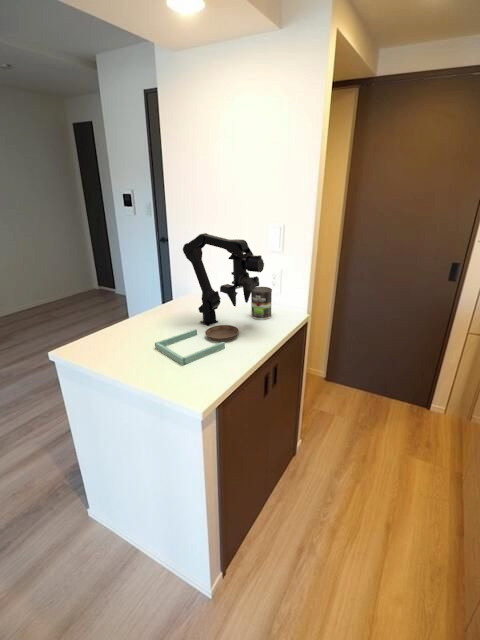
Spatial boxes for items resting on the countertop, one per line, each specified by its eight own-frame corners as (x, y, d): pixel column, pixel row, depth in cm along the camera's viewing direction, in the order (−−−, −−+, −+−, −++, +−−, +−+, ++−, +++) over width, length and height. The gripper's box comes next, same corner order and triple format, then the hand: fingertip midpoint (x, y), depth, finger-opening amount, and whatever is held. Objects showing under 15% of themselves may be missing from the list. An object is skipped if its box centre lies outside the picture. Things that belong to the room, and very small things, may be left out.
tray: (155, 348, 135) (154, 342, 134) (195, 334, 148) (195, 329, 147) (182, 365, 121) (182, 359, 120) (225, 348, 134) (224, 342, 133)
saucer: (199, 341, 141) (199, 335, 140) (213, 328, 154) (212, 323, 153) (232, 345, 136) (232, 339, 135) (243, 331, 149) (243, 326, 148)
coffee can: (268, 320, 161) (268, 292, 156) (248, 318, 165) (247, 291, 160) (274, 313, 170) (274, 287, 165) (255, 311, 173) (255, 285, 168)
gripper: (236, 276, 131) (237, 313, 136) (268, 269, 142) (268, 303, 148) (218, 272, 138) (220, 307, 144) (250, 265, 150) (250, 298, 156)
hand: (240, 304), depth 148 cm, fingers open, 7 cm apart
